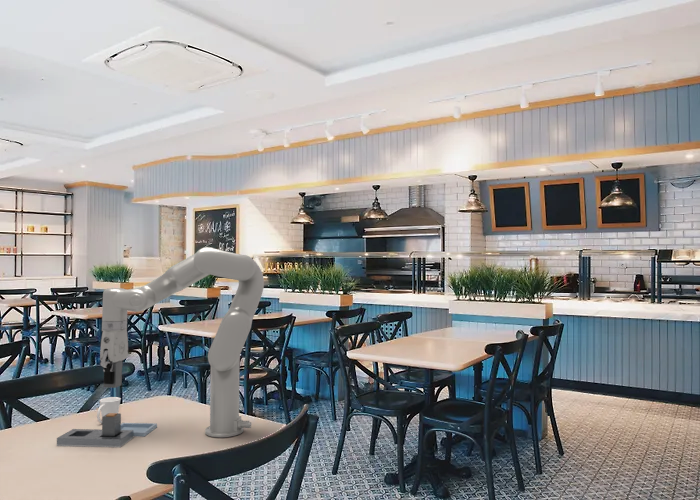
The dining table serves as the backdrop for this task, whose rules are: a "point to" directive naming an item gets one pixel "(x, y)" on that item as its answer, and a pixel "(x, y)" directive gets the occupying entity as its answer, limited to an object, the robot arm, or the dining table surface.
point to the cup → (108, 406)
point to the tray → (139, 428)
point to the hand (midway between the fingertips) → (112, 381)
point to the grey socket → (98, 434)
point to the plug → (116, 375)
